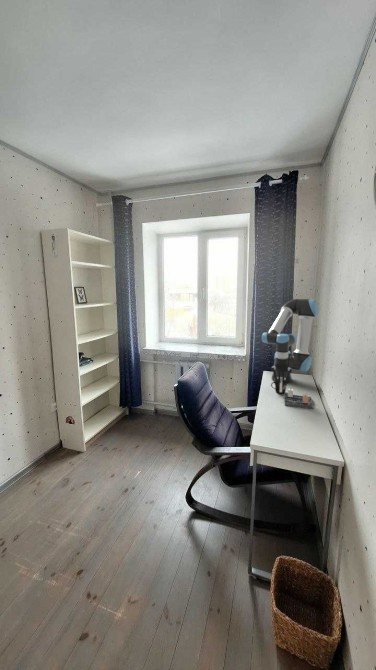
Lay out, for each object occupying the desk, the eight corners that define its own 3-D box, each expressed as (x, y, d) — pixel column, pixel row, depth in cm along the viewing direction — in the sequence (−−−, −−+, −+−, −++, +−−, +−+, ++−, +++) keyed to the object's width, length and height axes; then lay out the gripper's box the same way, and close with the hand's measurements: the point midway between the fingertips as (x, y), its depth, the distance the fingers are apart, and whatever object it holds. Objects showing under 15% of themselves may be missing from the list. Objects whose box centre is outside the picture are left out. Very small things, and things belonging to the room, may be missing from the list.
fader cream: (287, 394, 182) (288, 387, 181) (292, 395, 181) (292, 388, 180) (287, 396, 179) (288, 389, 178) (292, 397, 178) (292, 390, 177)
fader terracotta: (302, 400, 173) (303, 393, 172) (307, 401, 172) (308, 394, 171) (302, 402, 170) (303, 395, 169) (307, 403, 169) (308, 396, 168)
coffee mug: (285, 390, 196) (285, 377, 194) (288, 395, 188) (288, 381, 186) (268, 390, 197) (269, 377, 195) (271, 394, 189) (271, 381, 187)
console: (285, 396, 185) (285, 392, 184) (311, 399, 179) (311, 395, 179) (284, 405, 172) (284, 401, 172) (312, 409, 167) (312, 404, 166)
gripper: (271, 358, 176) (270, 392, 181) (292, 359, 172) (291, 394, 176) (272, 355, 183) (271, 388, 188) (292, 356, 178) (291, 390, 183)
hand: (280, 391), depth 182 cm, fingers closed
